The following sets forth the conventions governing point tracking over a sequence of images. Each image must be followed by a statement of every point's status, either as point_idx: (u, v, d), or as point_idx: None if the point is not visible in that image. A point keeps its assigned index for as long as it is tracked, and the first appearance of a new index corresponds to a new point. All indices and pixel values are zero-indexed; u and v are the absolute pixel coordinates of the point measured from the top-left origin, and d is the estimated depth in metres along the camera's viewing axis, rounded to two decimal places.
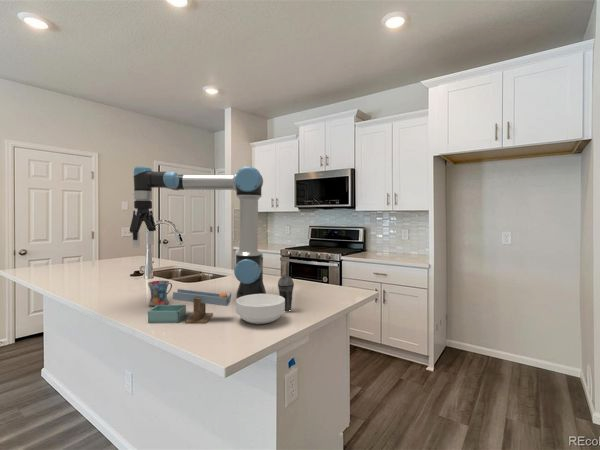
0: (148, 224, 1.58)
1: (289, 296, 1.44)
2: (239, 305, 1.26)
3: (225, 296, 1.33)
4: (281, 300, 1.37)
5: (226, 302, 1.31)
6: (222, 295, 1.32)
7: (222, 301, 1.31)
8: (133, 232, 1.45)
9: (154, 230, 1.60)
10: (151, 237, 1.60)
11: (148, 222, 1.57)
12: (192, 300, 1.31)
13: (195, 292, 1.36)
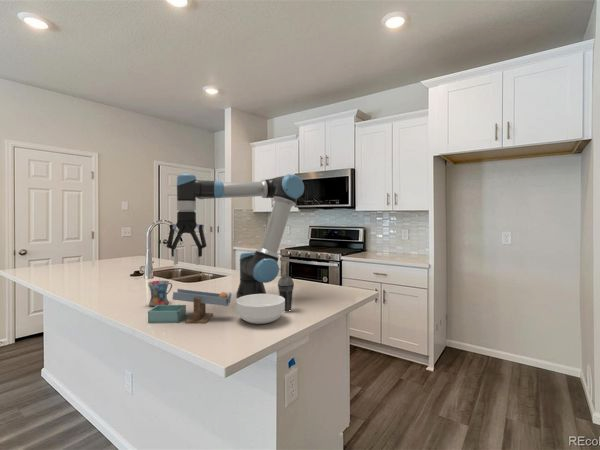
0: None
1: (289, 296, 1.44)
2: (239, 305, 1.26)
3: (225, 296, 1.33)
4: (281, 300, 1.37)
5: (226, 302, 1.31)
6: (222, 295, 1.32)
7: (222, 301, 1.31)
8: None
9: None
10: None
11: None
12: (192, 300, 1.31)
13: (195, 292, 1.36)
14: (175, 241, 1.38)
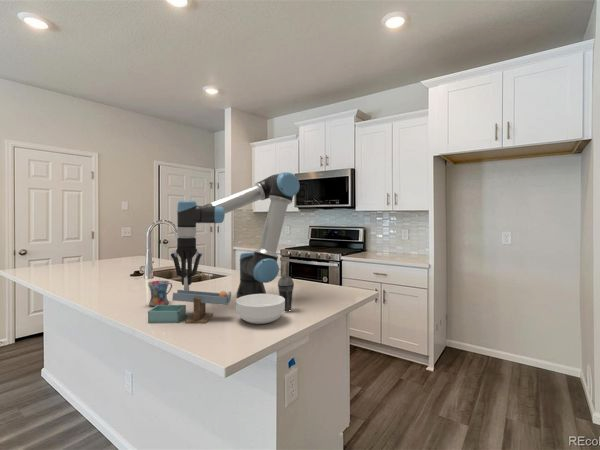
0: None
1: (289, 296, 1.44)
2: (239, 305, 1.26)
3: (225, 295, 1.33)
4: (281, 300, 1.37)
5: (226, 301, 1.31)
6: (222, 294, 1.32)
7: (222, 300, 1.31)
8: None
9: None
10: None
11: None
12: (192, 300, 1.31)
13: (195, 292, 1.36)
14: (182, 269, 1.38)
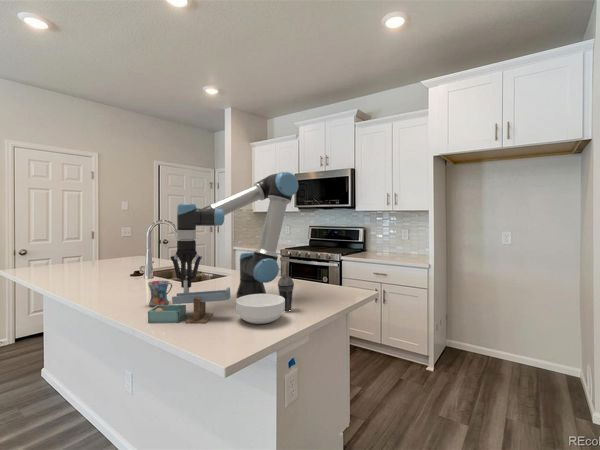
0: None
1: (289, 296, 1.44)
2: (239, 305, 1.26)
3: None
4: (281, 300, 1.37)
5: (226, 297, 1.31)
6: None
7: (222, 296, 1.31)
8: None
9: (186, 279, 1.38)
10: None
11: None
12: (192, 301, 1.31)
13: (194, 293, 1.36)
14: (182, 271, 1.38)
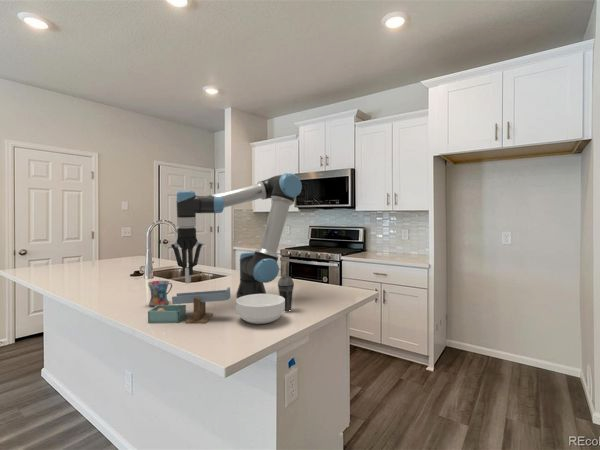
0: None
1: (289, 296, 1.44)
2: (239, 305, 1.26)
3: None
4: (281, 300, 1.37)
5: (226, 297, 1.31)
6: None
7: (222, 296, 1.31)
8: None
9: (188, 266, 1.38)
10: None
11: None
12: (192, 301, 1.31)
13: (194, 293, 1.36)
14: (183, 259, 1.38)
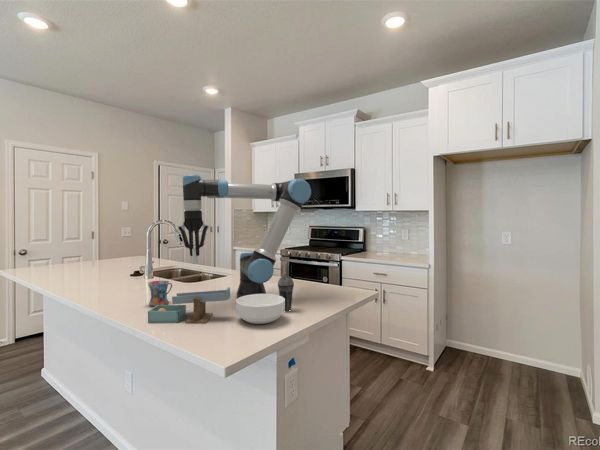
0: None
1: (289, 296, 1.44)
2: (239, 305, 1.26)
3: None
4: (281, 300, 1.37)
5: (226, 297, 1.31)
6: None
7: (222, 296, 1.31)
8: None
9: (195, 247, 1.44)
10: None
11: None
12: (192, 301, 1.31)
13: (194, 293, 1.36)
14: (190, 240, 1.44)
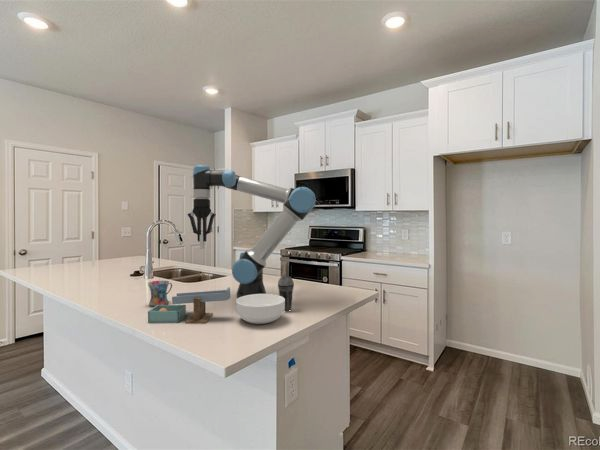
0: None
1: (289, 296, 1.44)
2: (239, 305, 1.26)
3: (161, 310, 1.32)
4: (281, 300, 1.37)
5: (226, 297, 1.31)
6: None
7: (222, 296, 1.31)
8: None
9: None
10: None
11: None
12: (192, 301, 1.31)
13: (194, 293, 1.36)
14: (198, 227, 1.54)
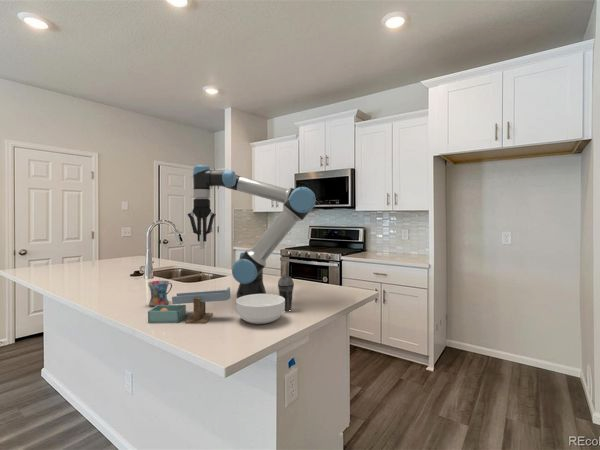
0: None
1: (289, 296, 1.44)
2: (239, 305, 1.26)
3: (163, 310, 1.32)
4: (281, 300, 1.37)
5: (226, 297, 1.31)
6: None
7: (222, 296, 1.31)
8: None
9: None
10: None
11: None
12: (192, 301, 1.31)
13: (194, 293, 1.36)
14: (198, 227, 1.54)
